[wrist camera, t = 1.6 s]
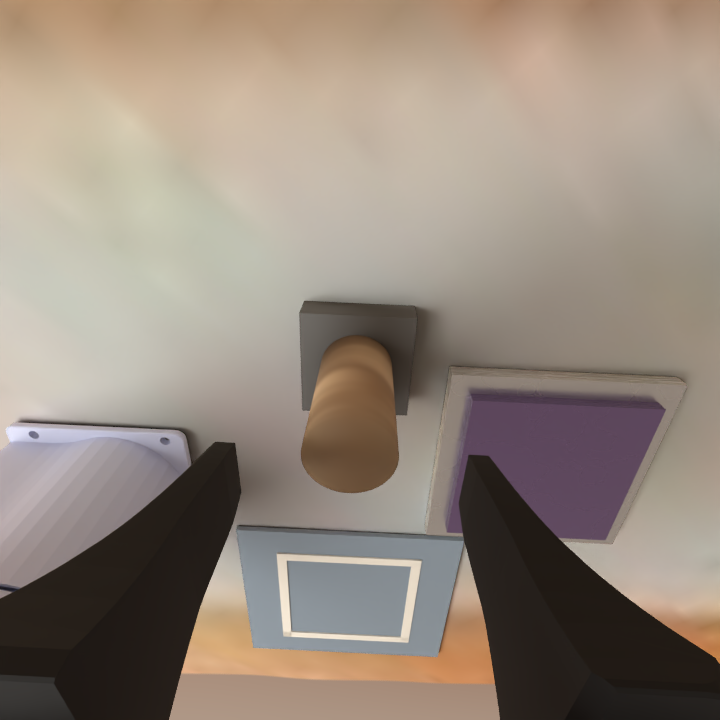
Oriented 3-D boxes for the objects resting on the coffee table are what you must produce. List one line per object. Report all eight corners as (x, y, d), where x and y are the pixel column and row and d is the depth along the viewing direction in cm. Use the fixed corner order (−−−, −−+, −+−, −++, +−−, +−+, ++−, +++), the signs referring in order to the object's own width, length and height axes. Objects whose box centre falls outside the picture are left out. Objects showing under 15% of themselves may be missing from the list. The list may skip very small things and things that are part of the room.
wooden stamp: (306, 393, 22) (277, 507, 15) (304, 300, 19) (268, 388, 13) (404, 397, 22) (418, 515, 15) (414, 305, 19) (435, 396, 13)
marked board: (254, 643, 33) (253, 649, 32) (237, 526, 26) (235, 531, 26) (437, 652, 33) (437, 658, 32) (463, 537, 26) (464, 542, 26)
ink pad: (424, 523, 26) (427, 543, 25) (449, 366, 21) (454, 381, 19) (605, 532, 26) (617, 552, 25) (677, 376, 21) (696, 392, 19)
